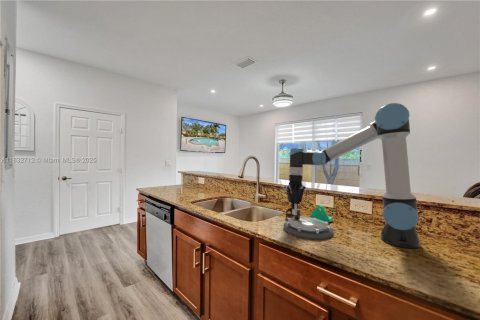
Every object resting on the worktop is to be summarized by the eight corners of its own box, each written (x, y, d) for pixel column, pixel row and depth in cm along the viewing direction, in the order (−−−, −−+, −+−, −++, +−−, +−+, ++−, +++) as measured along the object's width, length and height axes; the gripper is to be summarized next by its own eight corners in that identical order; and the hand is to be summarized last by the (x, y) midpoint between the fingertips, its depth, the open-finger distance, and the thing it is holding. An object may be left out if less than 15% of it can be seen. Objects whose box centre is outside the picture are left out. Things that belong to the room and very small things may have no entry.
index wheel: (338, 229, 109) (338, 216, 109) (308, 235, 98) (308, 221, 98) (306, 218, 128) (307, 207, 128) (279, 222, 118) (279, 210, 117)
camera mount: (332, 221, 132) (333, 205, 131) (329, 224, 126) (329, 207, 126) (314, 217, 139) (314, 202, 139) (309, 219, 133) (310, 204, 133)
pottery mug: (303, 221, 131) (298, 211, 129) (290, 227, 132) (285, 216, 130) (299, 212, 142) (294, 202, 140) (286, 217, 144) (282, 207, 142)
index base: (344, 236, 105) (344, 230, 105) (302, 242, 97) (302, 235, 97) (311, 221, 130) (311, 216, 130) (275, 224, 121) (275, 219, 121)
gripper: (301, 174, 125) (299, 212, 125) (282, 173, 121) (281, 213, 121) (309, 175, 118) (307, 215, 118) (289, 174, 114) (288, 216, 114)
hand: (294, 214), depth 119 cm, fingers closed
